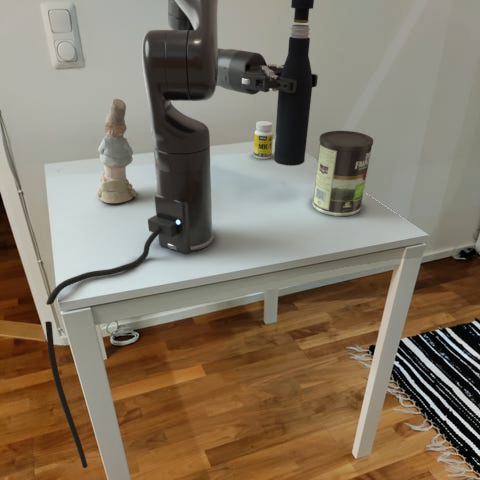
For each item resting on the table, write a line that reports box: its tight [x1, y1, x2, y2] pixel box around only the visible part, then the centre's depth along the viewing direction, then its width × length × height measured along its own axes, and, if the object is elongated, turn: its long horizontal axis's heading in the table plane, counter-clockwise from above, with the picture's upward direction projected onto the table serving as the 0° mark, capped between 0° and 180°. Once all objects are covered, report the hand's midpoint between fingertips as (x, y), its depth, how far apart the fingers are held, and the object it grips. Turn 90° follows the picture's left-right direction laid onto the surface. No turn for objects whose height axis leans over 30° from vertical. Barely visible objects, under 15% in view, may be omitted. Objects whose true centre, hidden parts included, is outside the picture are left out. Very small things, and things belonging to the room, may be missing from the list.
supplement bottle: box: [253, 120, 274, 160], centre depth 121 cm, size 5×5×8 cm
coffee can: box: [311, 130, 374, 217], centre depth 95 cm, size 10×10×14 cm
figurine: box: [97, 98, 138, 204], centre depth 96 cm, size 9×8×20 cm
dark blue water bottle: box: [273, 0, 315, 167], centre depth 89 cm, size 6×6×30 cm
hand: (305, 83), depth 88 cm, fingers closed on dark blue water bottle, 6 cm apart
